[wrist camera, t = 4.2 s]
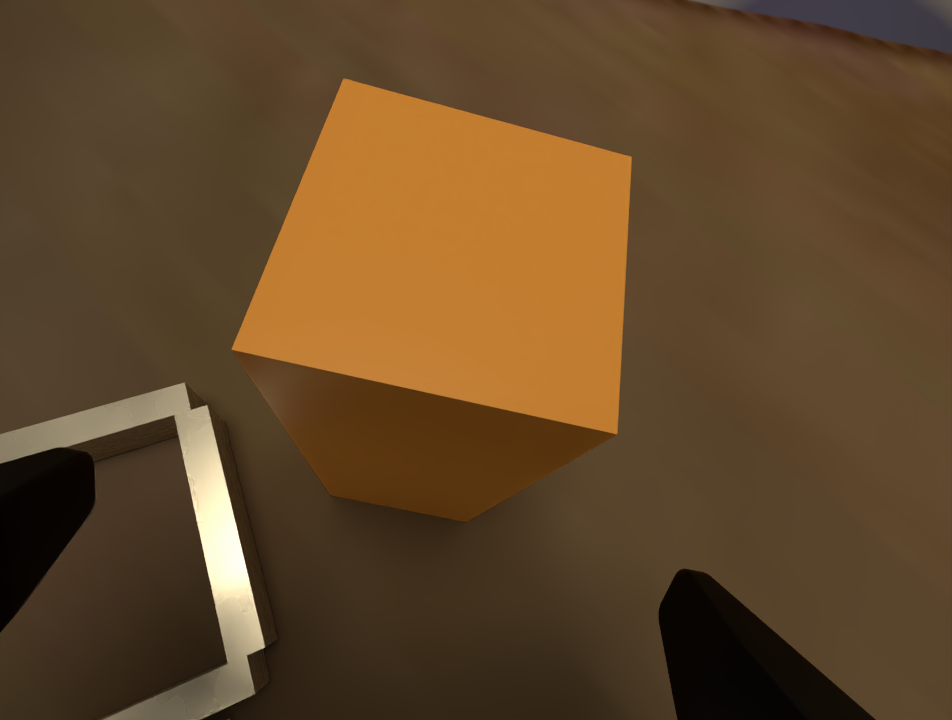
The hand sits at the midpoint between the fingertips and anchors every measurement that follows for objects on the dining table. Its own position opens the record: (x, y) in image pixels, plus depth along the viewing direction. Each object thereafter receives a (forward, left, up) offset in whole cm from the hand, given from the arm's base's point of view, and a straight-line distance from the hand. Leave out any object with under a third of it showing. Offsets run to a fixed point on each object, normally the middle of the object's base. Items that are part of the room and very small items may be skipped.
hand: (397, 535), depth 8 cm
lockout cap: (+3, -2, -11) cm, 12 cm away
